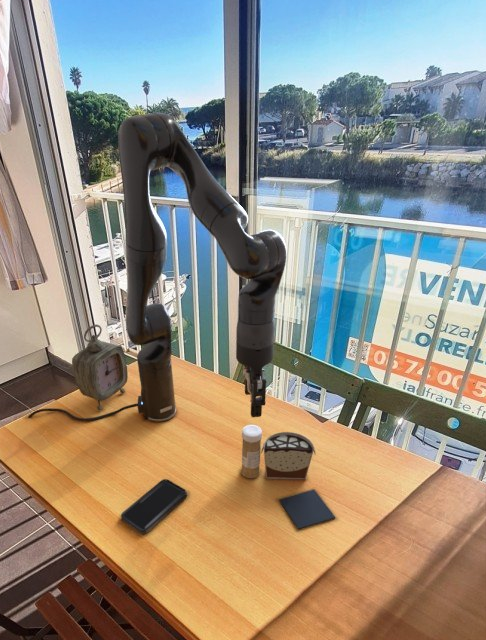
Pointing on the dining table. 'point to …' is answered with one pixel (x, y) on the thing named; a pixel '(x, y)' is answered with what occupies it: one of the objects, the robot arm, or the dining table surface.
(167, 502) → the phone
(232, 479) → the dining table surface
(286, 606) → the dining table surface
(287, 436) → the food container
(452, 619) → the dining table surface
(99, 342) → the tabletop clock
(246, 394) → the robot arm
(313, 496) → the slate coaster
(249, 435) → the sprinkles bottle
